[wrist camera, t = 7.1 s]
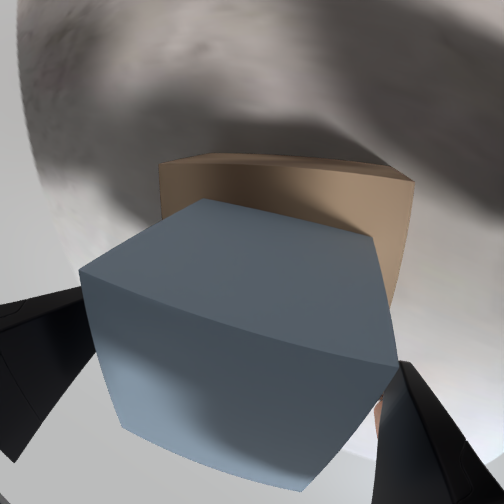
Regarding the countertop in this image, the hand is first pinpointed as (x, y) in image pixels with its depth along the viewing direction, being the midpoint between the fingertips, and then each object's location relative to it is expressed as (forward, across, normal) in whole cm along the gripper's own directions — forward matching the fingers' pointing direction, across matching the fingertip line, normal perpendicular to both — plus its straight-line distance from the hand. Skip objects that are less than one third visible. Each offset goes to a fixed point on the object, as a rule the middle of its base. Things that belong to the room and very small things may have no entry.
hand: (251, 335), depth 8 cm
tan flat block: (+8, 0, 0) cm, 8 cm away
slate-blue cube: (+3, 0, 0) cm, 3 cm away
